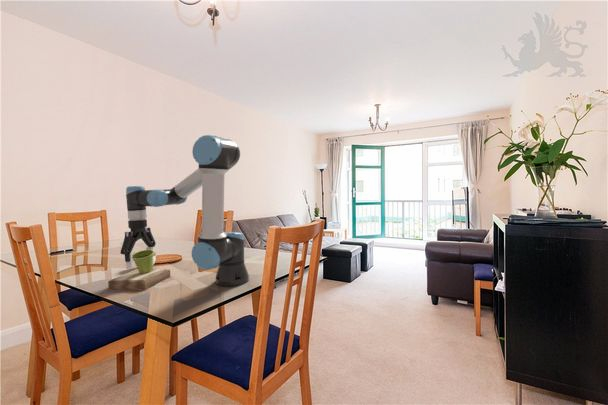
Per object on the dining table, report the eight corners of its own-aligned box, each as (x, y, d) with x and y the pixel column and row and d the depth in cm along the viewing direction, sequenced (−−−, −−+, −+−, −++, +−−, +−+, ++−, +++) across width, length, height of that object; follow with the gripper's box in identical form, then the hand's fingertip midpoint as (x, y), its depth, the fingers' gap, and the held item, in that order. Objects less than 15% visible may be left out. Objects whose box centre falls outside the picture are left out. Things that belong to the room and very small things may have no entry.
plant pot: (148, 276, 132) (144, 259, 130) (130, 275, 134) (126, 258, 131) (161, 266, 141) (157, 250, 139) (144, 265, 143) (140, 249, 140)
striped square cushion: (170, 276, 142) (169, 268, 141) (145, 290, 124) (145, 281, 124) (137, 275, 144) (137, 268, 144) (108, 288, 126) (108, 280, 126)
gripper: (148, 216, 145) (150, 257, 146) (108, 223, 120) (111, 272, 122) (161, 216, 144) (164, 257, 145) (124, 222, 119) (127, 272, 121)
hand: (140, 264), depth 133 cm, fingers open, 13 cm apart
